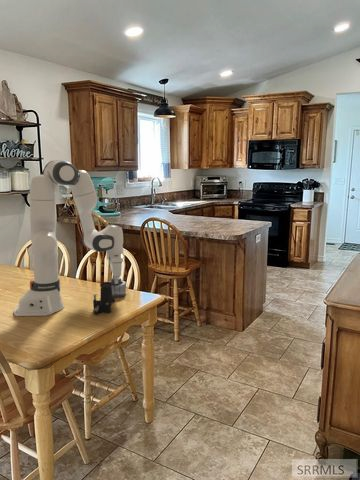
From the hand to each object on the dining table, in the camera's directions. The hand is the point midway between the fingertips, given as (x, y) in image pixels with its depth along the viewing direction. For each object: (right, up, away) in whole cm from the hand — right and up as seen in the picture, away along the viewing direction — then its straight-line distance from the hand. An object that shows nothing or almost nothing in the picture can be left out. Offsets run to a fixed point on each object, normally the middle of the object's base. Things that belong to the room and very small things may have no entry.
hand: (115, 280), depth 205 cm
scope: (-1, -13, -22) cm, 25 cm away
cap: (0, -4, +1) cm, 4 cm away
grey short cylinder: (0, -8, +2) cm, 8 cm away
